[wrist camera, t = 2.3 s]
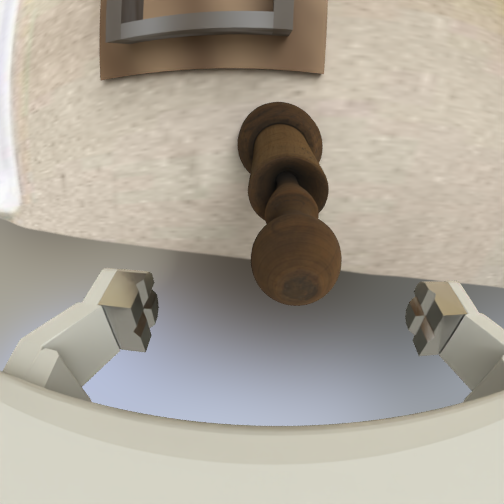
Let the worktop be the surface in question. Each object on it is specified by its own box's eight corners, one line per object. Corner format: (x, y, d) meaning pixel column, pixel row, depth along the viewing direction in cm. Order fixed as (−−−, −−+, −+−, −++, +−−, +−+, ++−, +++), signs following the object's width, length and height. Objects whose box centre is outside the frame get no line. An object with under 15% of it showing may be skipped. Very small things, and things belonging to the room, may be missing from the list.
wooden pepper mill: (334, 145, 24) (431, 291, 9) (277, 191, 26) (285, 373, 12) (281, 85, 21) (316, 128, 6) (222, 138, 24) (147, 278, 9)
